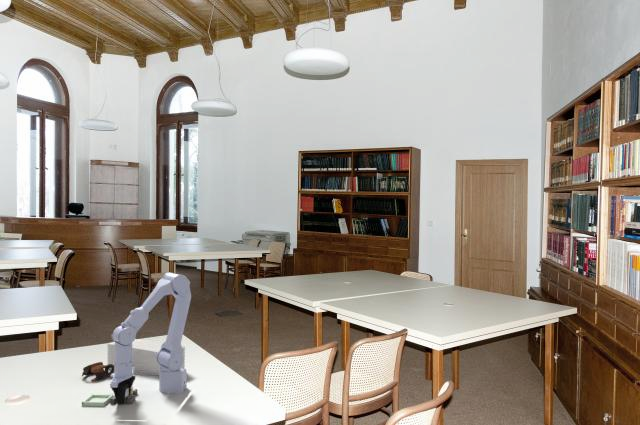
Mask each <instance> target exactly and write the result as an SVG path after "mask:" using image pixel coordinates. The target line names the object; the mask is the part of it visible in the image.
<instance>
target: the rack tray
mask: <svg viewBox="0 0 640 425" xmlns="http://www.w3.org/2000/svg"><path fill="white" fill-rule="evenodd" d="M113 396H114V394H109V393H108V394H106V393H105V394H102V393H101V394H98V393H94V394H93V393H91V394H90V395H89V396H88V397H86V398H85V399H84V400H83V401H81V406H82V407H105V406H106V405H107V404H108V403H110V399H111V398H112V397H113Z"/></svg>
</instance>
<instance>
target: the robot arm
mask: <svg viewBox="0 0 640 425" xmlns="http://www.w3.org/2000/svg"><path fill="white" fill-rule="evenodd" d="M190 285H191V281H190V280H189V279H188V277H187V276H185V275H184V274H178V273H173V271H172V272H171V271H170V272H166V273H164V274H163V275H162V277H161V278H160V279H159V280H158V282H157V283H156V286H155V287H154V288H153V290H152V291H151V293H150V294H149V295H148V297H147V298H146V299H145V301H144V302H142V303H143V304H142V305H141V306H140V307H135V308H134V309H131V311H130V312H129V313H130V314H129V315H128V317H127V318H126V319H125V320H124V321H122V322H121V323H120V325H119V326H117V327H116V328H115V329H114V330H113V333H112V334H111V339H112V341H113V342H115V349H114V373H113V374H111V375H110V377H111V378H112V380H111V381H110V384H109V385H110V389H111V390H112V392H113V393H114V394H113V395H115V398H116V405H124V404H123V403H124V400H125V393H126V389H127V387H129V397H130V396H131V395H130V391H131V387H133V384H134V382H135V380H136V376H135V375H134V373H135V368H134V367H132V342H133V341H134V340H135V339H137V338H136V337H137V333H138V331H139V330H140V329H141V328H142V327H143V325H145V323H146V322H147V320H148V319H149V316H150V315H149V313H150V312H151V311H152V309H154V307H155V306H156V305H157V304H158V303H159V302H160V301H161V300H162V299H163V298H164V297H165V296H170V295H172V296H173V297H174V298H175V301H174V304H173V310H172V313H171V318H170V322H169V326H168V332H167V336H166V340H165V341H164V342H162V343H163V344H162V346H161V349H160V351H159V352H158V354H157V357H156V360H157V362H158V363H159V364H160V373H159V375H158V376H159V378H158V379H159V383H158V384H159V388H158V389H159V390H158V391H159V392H161V393H165V394H166V393H167V394H170V395H171V394H182V393H184V392H185V390H186V389H187V381H188V380H187V379H188V378H187V375H188V374H187V373H188V372H187V369H186V368H185V369H182V368H180V367H181V366H182V364H183V348H182V339H183V335H184V331H185V327H186V322H187V319H188V318H187V317H188V314H189V308H190V305H191V300H192V292H191V287H190Z"/></svg>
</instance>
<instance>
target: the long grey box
mask: <svg viewBox="0 0 640 425" xmlns="http://www.w3.org/2000/svg"><path fill="white" fill-rule="evenodd" d="M163 343H164V342H157V341H151V340H144V339H137V338H135V340H134V341H133V342H132V367H134V368H135V373H133V375H139V376H140V375H141V376H159V373H160V364H159V363H158V362H157V360H156V357H157V354H158V352H159V351H160V349H161V346H162V344H163ZM181 346H182V345H181ZM182 348H183V364H182V366H181V367H180V368H182V369H186V368H185V366H186V365H185V363H186V362H185V359H186V358H185V357H186V356H185V355H186V354H185V353H186V351H185V350H186V347H185V346H182ZM114 349H115V342H114V341H112V342H108V343H107V362H106V363H107V364H106V365H108V364H113V365H114ZM111 369H112V368H109V370H111Z"/></svg>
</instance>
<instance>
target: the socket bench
mask: <svg viewBox="0 0 640 425" xmlns="http://www.w3.org/2000/svg"><path fill="white" fill-rule="evenodd" d="M137 395H138V389H137V388H134V389H133V394H132V395H130V396H129V398H128V399H127V403H126V405H132V404H133V403H135V401H136V396H137ZM109 404H110V405H111V404H112V405H115V404H117V402H116V398H115V394H113V397H112V398H111V399H110V402H109Z"/></svg>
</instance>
